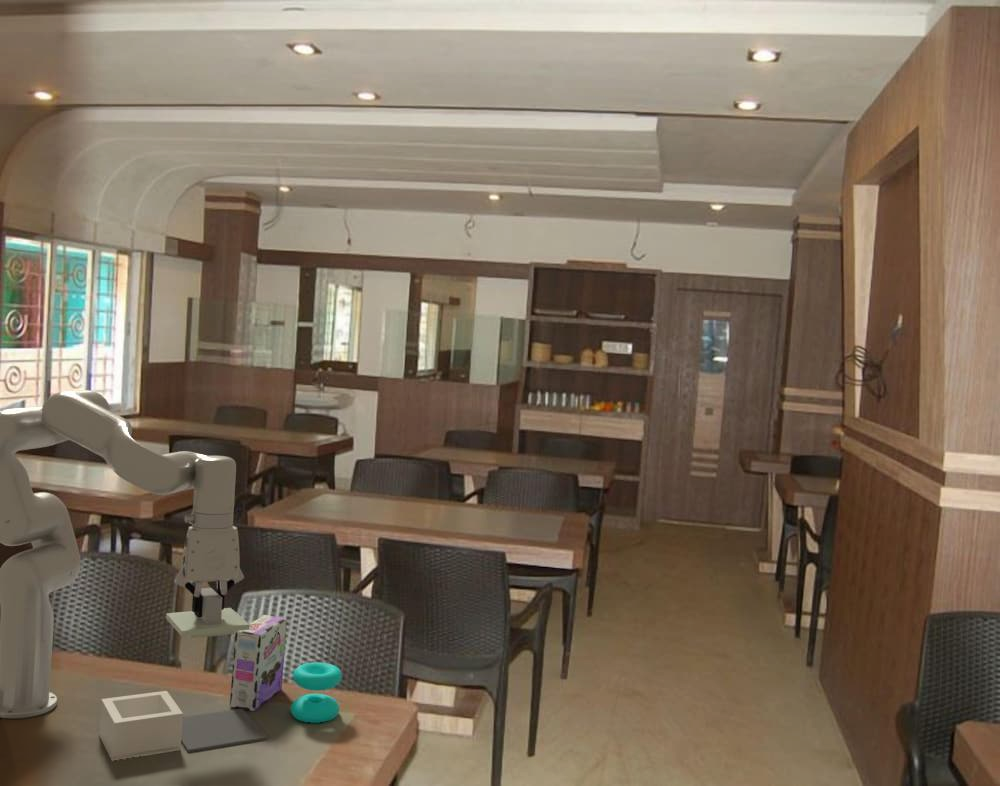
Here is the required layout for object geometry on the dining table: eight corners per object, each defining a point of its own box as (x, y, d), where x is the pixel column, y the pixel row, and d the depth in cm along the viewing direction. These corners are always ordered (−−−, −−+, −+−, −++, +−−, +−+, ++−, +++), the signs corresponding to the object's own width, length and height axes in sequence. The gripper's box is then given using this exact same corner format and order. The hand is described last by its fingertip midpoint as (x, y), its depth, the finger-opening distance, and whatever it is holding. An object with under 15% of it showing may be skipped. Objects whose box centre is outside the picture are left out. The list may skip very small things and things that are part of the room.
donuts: (331, 658, 202) (349, 673, 193) (327, 703, 202) (346, 721, 194) (286, 663, 196) (303, 679, 188) (283, 710, 197) (300, 728, 188)
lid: (181, 643, 172) (183, 604, 172) (165, 624, 183) (167, 588, 182) (248, 635, 179) (251, 598, 178) (230, 618, 189) (231, 583, 189)
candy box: (254, 712, 194) (260, 634, 193) (228, 707, 195) (234, 630, 195) (282, 689, 208) (288, 616, 207) (258, 685, 209) (263, 613, 208)
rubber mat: (188, 752, 173) (188, 749, 173) (167, 721, 186) (167, 719, 186) (266, 739, 182) (266, 736, 182) (241, 711, 194) (242, 708, 194)
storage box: (112, 761, 168) (114, 723, 167) (99, 735, 178) (101, 699, 177) (180, 750, 174) (182, 713, 174) (164, 725, 184) (166, 690, 184)
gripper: (173, 526, 172) (168, 624, 173) (260, 522, 181) (255, 616, 182) (164, 518, 179) (159, 613, 179) (248, 515, 187) (243, 605, 188)
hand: (207, 613), depth 181 cm, fingers closed on lid, 3 cm apart
